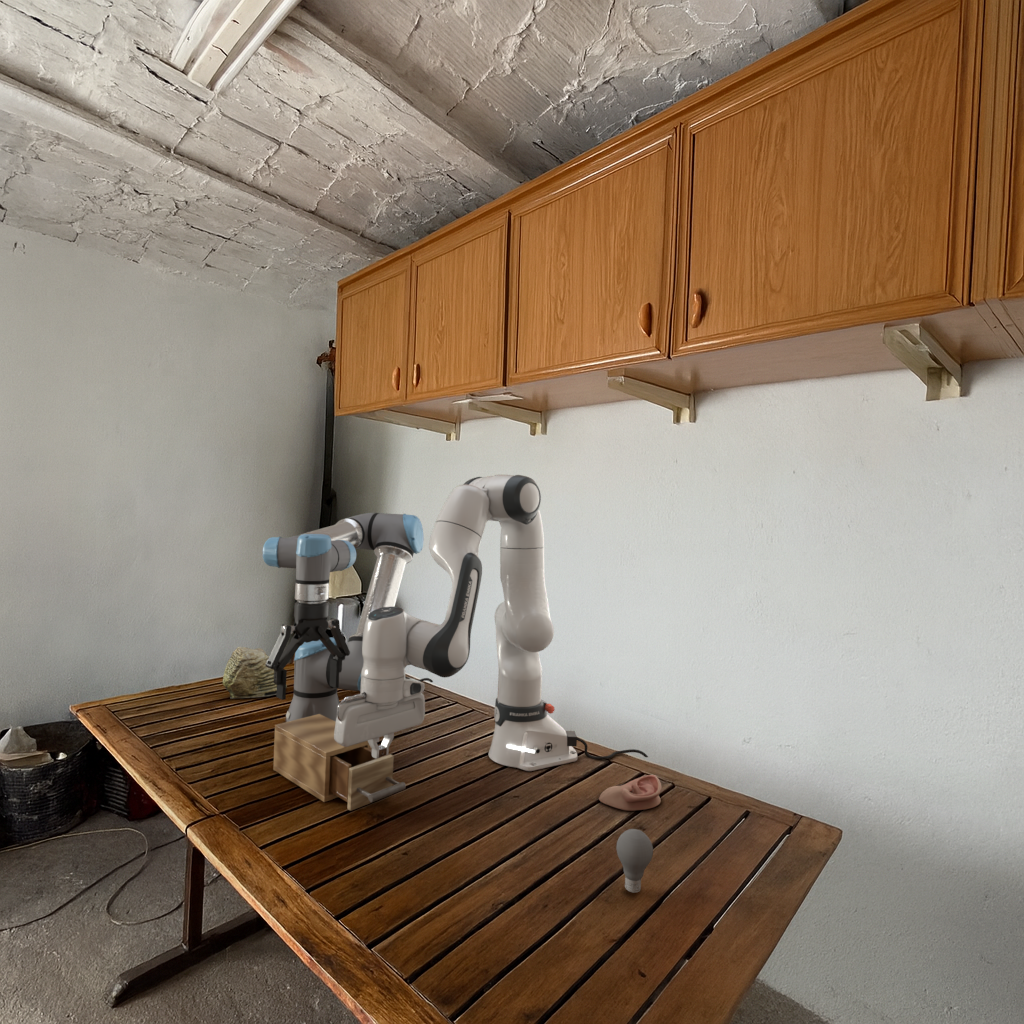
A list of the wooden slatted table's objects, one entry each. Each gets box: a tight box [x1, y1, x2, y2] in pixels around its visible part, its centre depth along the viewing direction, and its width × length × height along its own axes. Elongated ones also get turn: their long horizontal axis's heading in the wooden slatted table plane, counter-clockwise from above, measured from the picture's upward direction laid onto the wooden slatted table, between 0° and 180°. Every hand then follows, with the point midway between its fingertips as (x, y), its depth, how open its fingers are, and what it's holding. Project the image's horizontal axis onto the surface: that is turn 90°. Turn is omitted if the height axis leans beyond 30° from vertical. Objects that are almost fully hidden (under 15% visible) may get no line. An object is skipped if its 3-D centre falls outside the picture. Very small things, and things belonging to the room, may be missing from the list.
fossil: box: [222, 646, 288, 699], centre depth 198 cm, size 9×18×15 cm, turn 132°
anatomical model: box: [598, 774, 663, 812], centre depth 139 cm, size 13×4×12 cm
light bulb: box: [615, 828, 654, 894], centre depth 106 cm, size 6×6×10 cm
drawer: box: [329, 746, 407, 812], centre depth 135 cm, size 26×10×8 cm, turn 48°
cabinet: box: [272, 714, 372, 803], centre depth 143 cm, size 21×12×10 cm, turn 48°
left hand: (308, 692), depth 147 cm, fingers open, 13 cm apart
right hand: (379, 756), depth 129 cm, fingers closed
